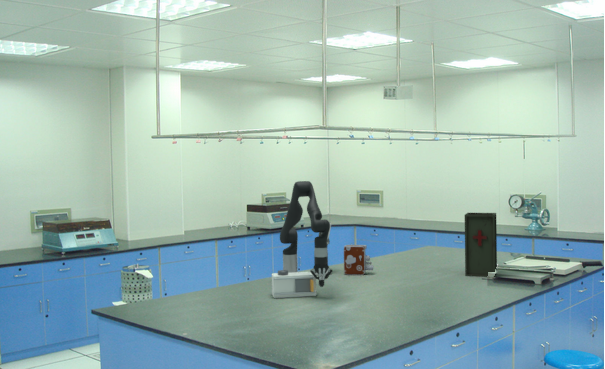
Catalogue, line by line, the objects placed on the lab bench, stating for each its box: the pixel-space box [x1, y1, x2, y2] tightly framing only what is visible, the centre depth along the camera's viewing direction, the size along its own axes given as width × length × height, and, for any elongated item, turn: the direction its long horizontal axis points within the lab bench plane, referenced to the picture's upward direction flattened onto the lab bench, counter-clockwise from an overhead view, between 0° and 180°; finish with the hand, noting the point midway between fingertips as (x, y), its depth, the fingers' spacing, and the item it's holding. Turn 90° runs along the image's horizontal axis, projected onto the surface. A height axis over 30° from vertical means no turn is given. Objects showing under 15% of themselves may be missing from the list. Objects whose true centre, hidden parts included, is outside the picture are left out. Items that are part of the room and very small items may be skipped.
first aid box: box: [464, 212, 498, 278], centre depth 370 cm, size 18×18×40 cm
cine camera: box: [343, 244, 374, 276], centre depth 378 cm, size 9×19×20 cm, turn 78°
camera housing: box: [271, 269, 318, 299], centre depth 318 cm, size 11×24×14 cm, turn 99°
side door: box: [295, 278, 314, 292], centre depth 311 cm, size 5×10×7 cm, turn 99°
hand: (321, 286), depth 311 cm, fingers closed
